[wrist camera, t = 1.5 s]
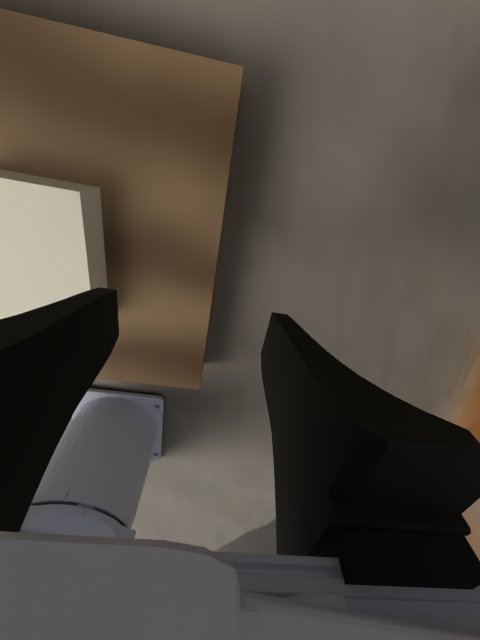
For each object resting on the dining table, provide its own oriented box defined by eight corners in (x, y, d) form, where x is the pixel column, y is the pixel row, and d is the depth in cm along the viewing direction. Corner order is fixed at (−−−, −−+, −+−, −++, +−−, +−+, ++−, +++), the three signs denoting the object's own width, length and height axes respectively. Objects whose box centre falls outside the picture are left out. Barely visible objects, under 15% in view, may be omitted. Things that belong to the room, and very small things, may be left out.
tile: (109, 313, 17) (95, 331, 15) (21, 301, 16) (-4, 318, 14) (99, 187, 13) (79, 192, 11) (-14, 167, 13) (-53, 168, 11)
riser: (203, 363, 23) (199, 389, 20) (-7, 337, 21) (-40, 363, 18) (242, 83, 14) (243, 66, 11) (-121, -1, 12) (-219, -45, 9)
